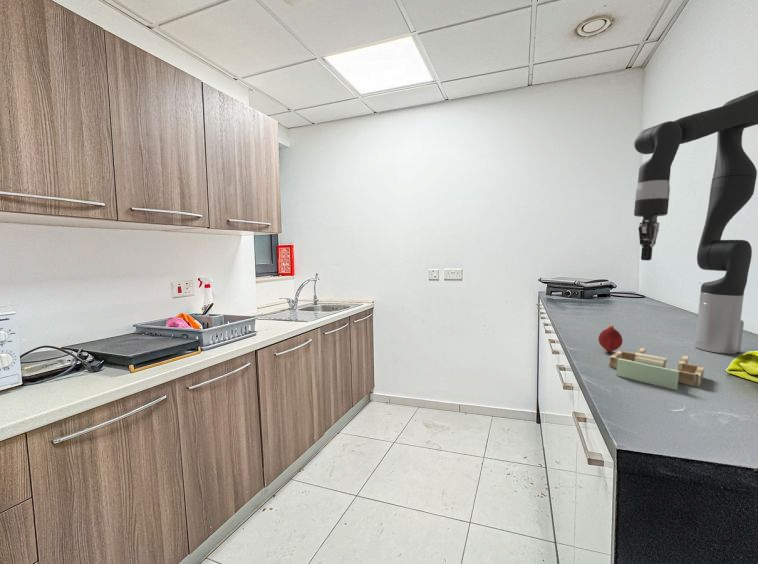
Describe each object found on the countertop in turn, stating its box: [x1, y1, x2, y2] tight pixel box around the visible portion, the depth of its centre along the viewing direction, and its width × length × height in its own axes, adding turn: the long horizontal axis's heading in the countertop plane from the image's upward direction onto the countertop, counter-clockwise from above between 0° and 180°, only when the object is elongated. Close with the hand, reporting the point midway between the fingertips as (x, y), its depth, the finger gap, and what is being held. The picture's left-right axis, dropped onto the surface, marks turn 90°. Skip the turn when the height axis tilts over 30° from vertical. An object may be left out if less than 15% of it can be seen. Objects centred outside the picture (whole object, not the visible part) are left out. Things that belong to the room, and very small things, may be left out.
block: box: [635, 353, 668, 368], centre depth 80 cm, size 5×5×5 cm
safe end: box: [615, 358, 679, 391], centre depth 78 cm, size 1×11×4 cm, turn 43°
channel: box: [608, 347, 705, 388], centre depth 86 cm, size 22×17×2 cm
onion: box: [598, 324, 623, 353], centre depth 100 cm, size 6×6×8 cm
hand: (646, 260), depth 99 cm, fingers closed
